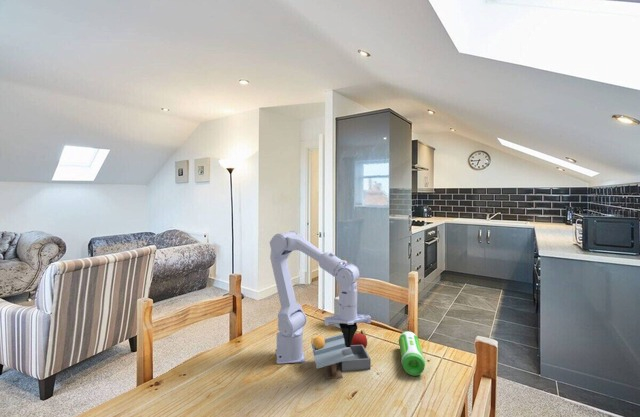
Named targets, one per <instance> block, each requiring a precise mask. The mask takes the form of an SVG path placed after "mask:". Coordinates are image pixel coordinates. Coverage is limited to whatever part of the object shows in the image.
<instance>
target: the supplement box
mask: <svg viewBox="0 0 640 417" xmlns="http://www.w3.org/2000/svg"><path fill="white" fill-rule="evenodd" d="M333 302H334V303H333V304H334V305H333V306H334V307H333V308H334V309H333V311H334V312H333V313H334V315H333V316H335V315H339V296H336V297H334V298H333ZM333 326H334V327H336V328H338V329H341V328H340V325H339V324H333Z"/></svg>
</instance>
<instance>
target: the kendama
mask: <svg viewBox="0 0 640 417" xmlns="http://www.w3.org/2000/svg"><path fill="white" fill-rule="evenodd" d="M351 345H363V346H364V348H365V349H366V348H367V346H368V338H367V334H366V330H365V329H361V330H360V331H359V332H358V330H356V332H355V334H354V336H353V339H352V342H351Z"/></svg>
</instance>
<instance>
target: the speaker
mask: <svg viewBox="0 0 640 417" xmlns="http://www.w3.org/2000/svg"><path fill="white" fill-rule="evenodd" d="M398 345H399V350H400V352H399V353H400V358H401V361H400V362H401V365H402V368H403V369H404V371H405V373H407V374H409V375H410V376H415V377H416V376H419V375H421V374H422V373H423V372H424V371H425V368H426V367H425V366H426V363H425V362H426V361H425V358H424V355H423V351H422V347H421V344H420V339H419V337H418V336H417V335H416V334H415V333H414V332H412V331H411V330H410V331H409V330H406V331H403V332H402V333H401V334H400V335H399V338H398Z"/></svg>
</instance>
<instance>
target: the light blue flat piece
mask: <svg viewBox="0 0 640 417" xmlns="http://www.w3.org/2000/svg"><path fill="white" fill-rule="evenodd" d="M323 339H324V340H325V345H324V347H323V348H322V349H316V348H315V347H314V345H313V341H312V342H310V344H311V349H312V353H313V357H314V362H315V366H316V369H321V368H324V366H328V365H331V364H335V363H338V364H339V362H342V361H346V360H349V359H353V358H354V354H353V352H352V350H351V348H350V347H346V346H345V341H344V337H343V333H340V334H337V335H332V336H330V337H325V338H323Z"/></svg>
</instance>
